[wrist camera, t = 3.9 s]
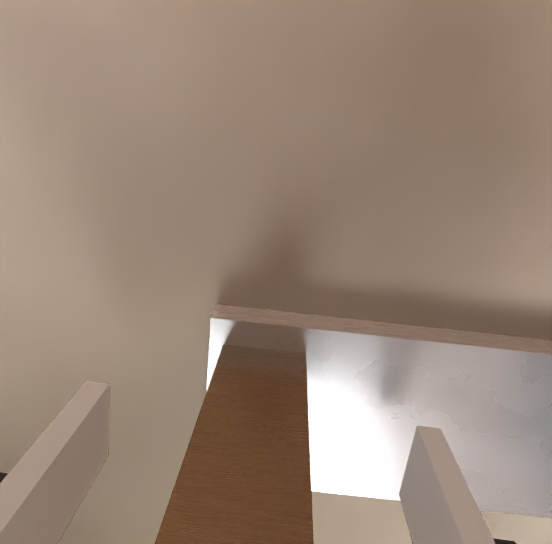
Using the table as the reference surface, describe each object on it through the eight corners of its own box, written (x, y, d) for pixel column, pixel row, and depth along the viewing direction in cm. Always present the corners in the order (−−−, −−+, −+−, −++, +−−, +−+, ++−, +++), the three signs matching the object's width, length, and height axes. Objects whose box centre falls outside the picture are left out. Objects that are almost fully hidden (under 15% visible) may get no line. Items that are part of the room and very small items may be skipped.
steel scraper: (208, 452, 20) (116, 789, 10) (217, 302, 18) (112, 534, 8) (651, 502, 19) (1028, 901, 9) (715, 355, 17) (1291, 669, 7)
